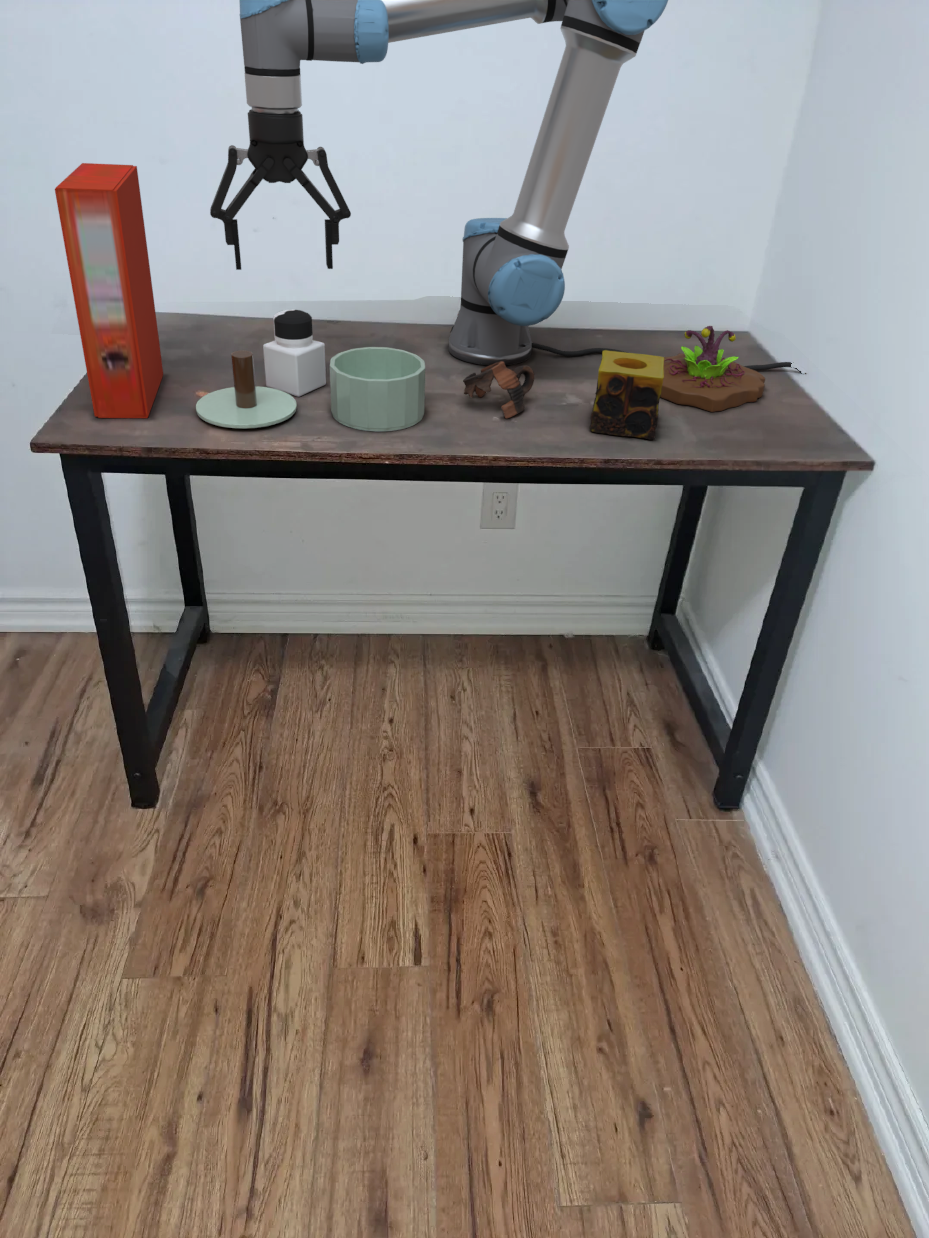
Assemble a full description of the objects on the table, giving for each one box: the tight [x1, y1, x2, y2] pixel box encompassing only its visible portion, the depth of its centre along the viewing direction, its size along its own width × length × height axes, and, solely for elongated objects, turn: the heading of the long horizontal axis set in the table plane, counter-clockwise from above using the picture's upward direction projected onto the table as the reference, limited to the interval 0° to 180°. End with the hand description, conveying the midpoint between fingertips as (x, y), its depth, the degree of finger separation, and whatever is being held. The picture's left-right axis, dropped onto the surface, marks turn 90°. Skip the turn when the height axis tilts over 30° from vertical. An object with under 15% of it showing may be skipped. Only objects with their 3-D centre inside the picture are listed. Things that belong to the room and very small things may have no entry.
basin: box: [329, 346, 426, 433], centre depth 145 cm, size 14×14×8 cm
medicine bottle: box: [262, 309, 327, 398], centre depth 151 cm, size 7×7×12 cm
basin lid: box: [195, 349, 298, 429], centre depth 143 cm, size 15×15×9 cm
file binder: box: [54, 162, 164, 419], centre depth 139 cm, size 8×17×32 cm, turn 7°
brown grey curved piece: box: [462, 361, 535, 420], centre depth 151 cm, size 12×10×8 cm
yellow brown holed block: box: [589, 350, 665, 441], centre depth 146 cm, size 10×10×10 cm
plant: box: [660, 325, 766, 413], centre depth 160 cm, size 20×20×11 cm
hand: (284, 267), depth 143 cm, fingers open, 13 cm apart
